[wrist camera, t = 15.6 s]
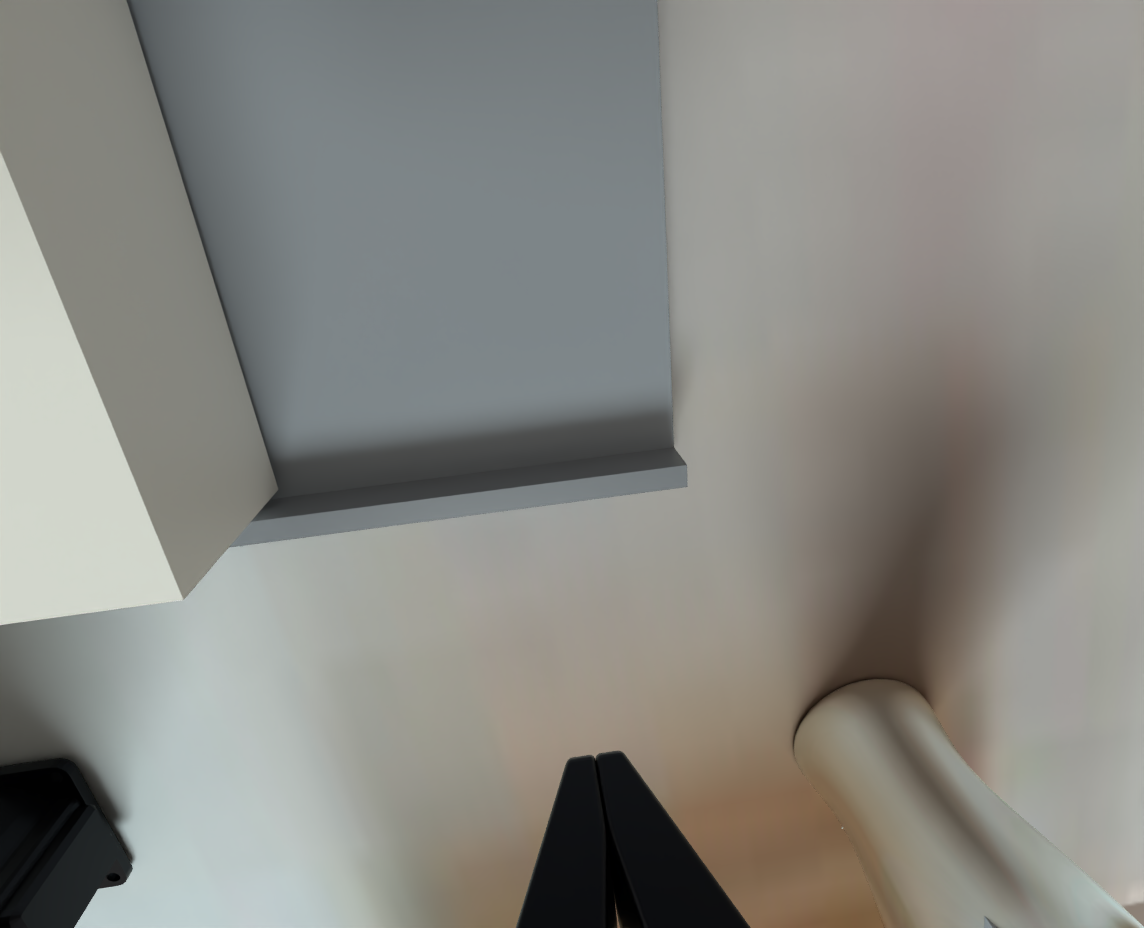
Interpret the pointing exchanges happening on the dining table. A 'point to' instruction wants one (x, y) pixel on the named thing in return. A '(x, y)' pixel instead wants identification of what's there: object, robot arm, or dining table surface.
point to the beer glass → (936, 822)
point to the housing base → (430, 246)
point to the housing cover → (107, 334)
